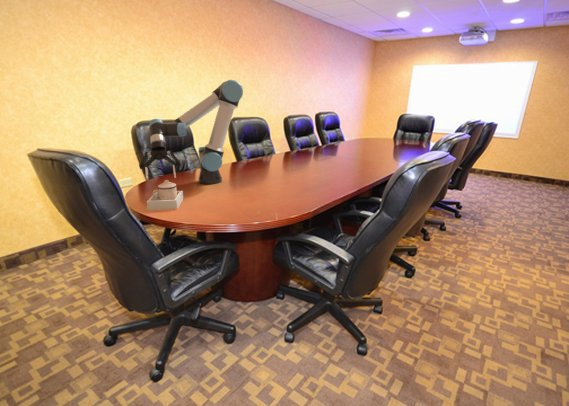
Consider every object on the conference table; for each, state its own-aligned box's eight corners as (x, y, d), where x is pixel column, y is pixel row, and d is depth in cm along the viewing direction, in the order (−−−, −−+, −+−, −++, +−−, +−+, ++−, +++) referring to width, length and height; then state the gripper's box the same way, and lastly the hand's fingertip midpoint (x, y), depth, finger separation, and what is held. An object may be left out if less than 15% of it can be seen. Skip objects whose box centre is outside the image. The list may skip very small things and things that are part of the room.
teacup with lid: (178, 198, 166) (175, 177, 162) (178, 203, 158) (176, 181, 154) (154, 201, 162) (150, 179, 158) (153, 206, 154) (150, 184, 150)
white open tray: (183, 198, 170) (182, 190, 168) (177, 209, 154) (176, 200, 152) (156, 199, 168) (155, 191, 167) (147, 210, 152) (146, 201, 151)
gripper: (182, 147, 176) (186, 179, 168) (134, 150, 169) (136, 183, 161) (181, 138, 170) (185, 171, 162) (131, 141, 162) (133, 176, 154)
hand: (161, 177), depth 161 cm, fingers open, 13 cm apart
